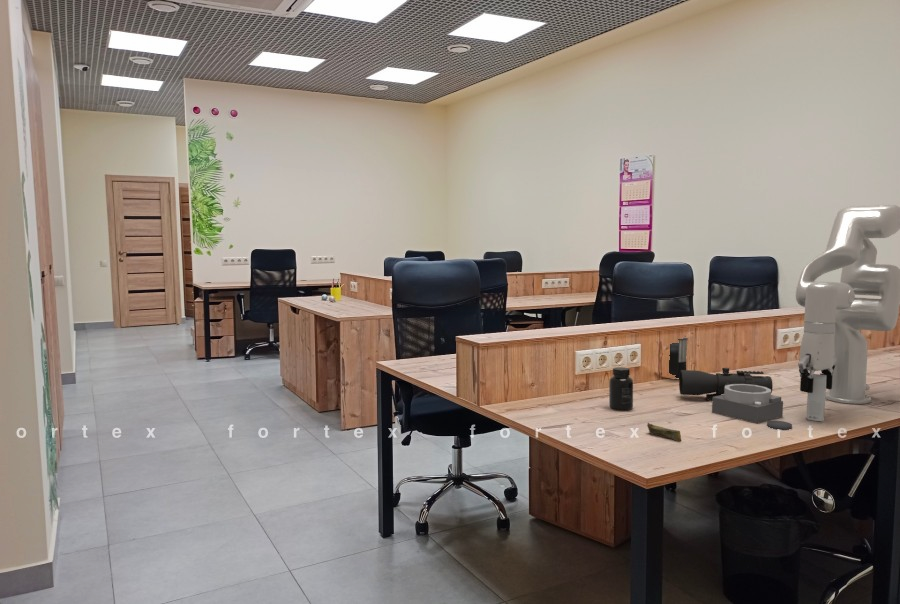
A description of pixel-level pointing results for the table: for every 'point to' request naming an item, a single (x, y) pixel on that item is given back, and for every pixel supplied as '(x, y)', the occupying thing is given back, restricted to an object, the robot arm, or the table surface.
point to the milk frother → (678, 357)
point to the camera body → (748, 403)
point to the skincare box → (817, 399)
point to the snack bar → (664, 432)
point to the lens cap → (779, 425)
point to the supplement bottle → (621, 390)
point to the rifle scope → (717, 381)
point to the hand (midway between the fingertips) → (816, 390)
